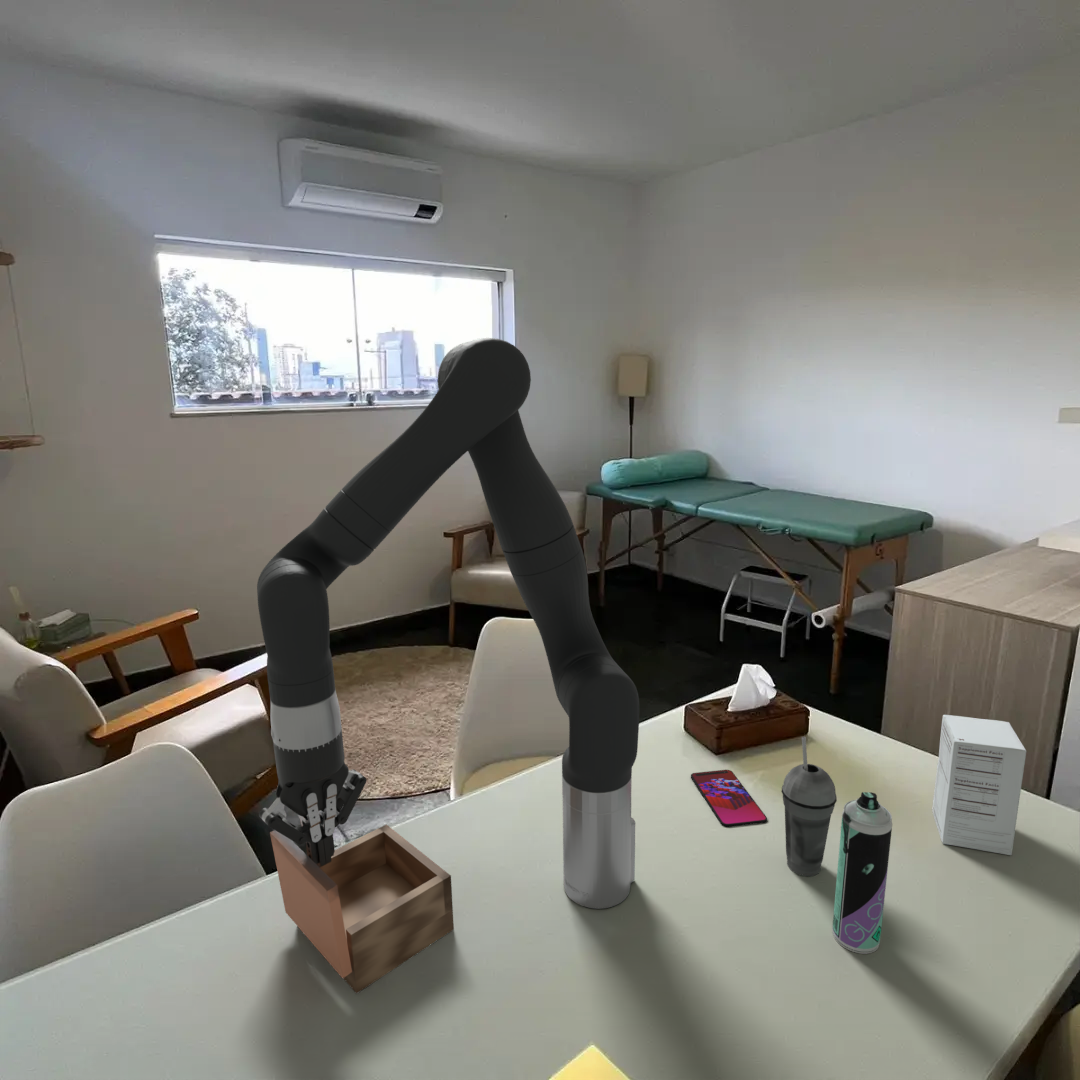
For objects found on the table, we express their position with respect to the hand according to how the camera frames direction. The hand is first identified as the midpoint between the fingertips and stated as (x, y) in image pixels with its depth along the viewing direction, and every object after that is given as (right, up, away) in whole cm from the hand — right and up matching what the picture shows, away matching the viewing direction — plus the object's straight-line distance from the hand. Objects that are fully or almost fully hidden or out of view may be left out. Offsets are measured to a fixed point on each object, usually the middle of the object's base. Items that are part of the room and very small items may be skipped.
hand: (322, 861), depth 88 cm
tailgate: (0, -10, +2) cm, 10 cm away
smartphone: (+57, -5, +34) cm, 67 cm away
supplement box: (+92, -6, +24) cm, 95 cm away
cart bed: (+5, -12, +7) cm, 14 cm away
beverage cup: (+64, -8, +17) cm, 66 cm away
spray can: (+66, -11, +4) cm, 67 cm away
